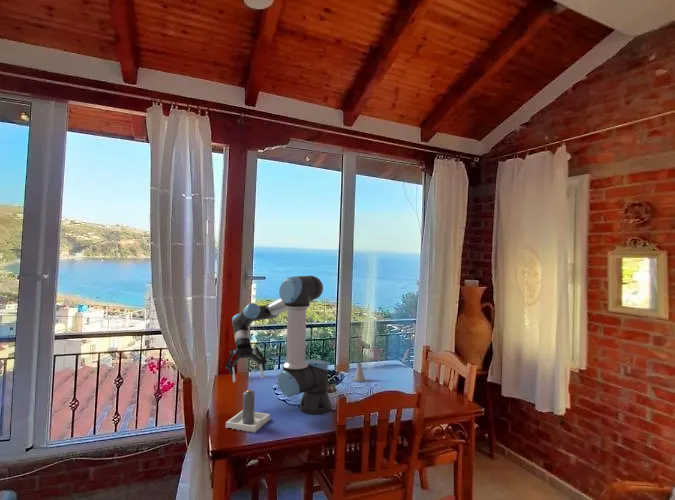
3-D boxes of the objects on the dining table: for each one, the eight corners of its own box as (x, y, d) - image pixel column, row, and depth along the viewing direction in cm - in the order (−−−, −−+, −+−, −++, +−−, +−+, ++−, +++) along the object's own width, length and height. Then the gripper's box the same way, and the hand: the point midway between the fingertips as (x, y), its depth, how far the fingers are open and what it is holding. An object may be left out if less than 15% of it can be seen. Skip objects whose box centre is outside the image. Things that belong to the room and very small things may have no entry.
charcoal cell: (256, 420, 180) (256, 389, 180) (250, 425, 175) (250, 393, 175) (246, 419, 181) (246, 388, 181) (240, 423, 176) (240, 391, 176)
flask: (361, 383, 234) (361, 366, 234) (350, 381, 238) (351, 364, 238) (367, 379, 240) (367, 363, 240) (356, 377, 244) (356, 361, 244)
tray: (269, 419, 183) (269, 414, 183) (254, 432, 169) (254, 426, 169) (242, 415, 187) (242, 410, 187) (225, 428, 173) (225, 422, 173)
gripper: (265, 342, 215) (272, 379, 201) (216, 347, 205) (221, 386, 191) (267, 335, 210) (275, 371, 197) (218, 339, 200) (222, 378, 186)
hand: (248, 379), depth 194 cm, fingers open, 13 cm apart
